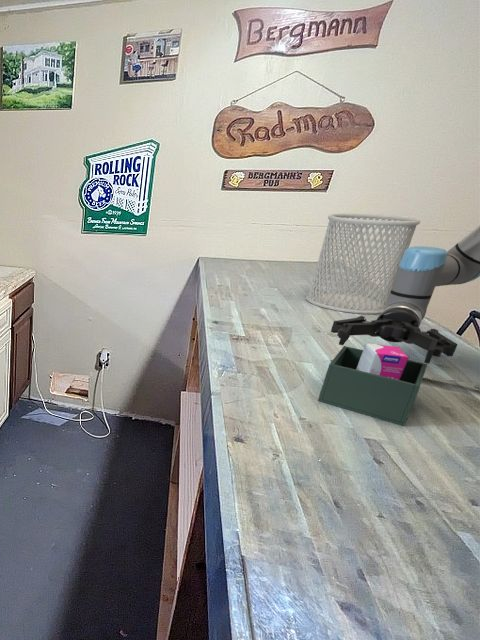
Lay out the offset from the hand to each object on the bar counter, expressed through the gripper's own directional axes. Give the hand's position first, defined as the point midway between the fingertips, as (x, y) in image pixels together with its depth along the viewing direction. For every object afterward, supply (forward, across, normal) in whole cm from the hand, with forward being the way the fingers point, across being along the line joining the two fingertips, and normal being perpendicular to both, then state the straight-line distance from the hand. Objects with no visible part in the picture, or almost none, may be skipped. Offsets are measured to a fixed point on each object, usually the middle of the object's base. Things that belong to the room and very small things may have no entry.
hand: (383, 347), depth 90 cm
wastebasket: (-87, +18, -13) cm, 90 cm away
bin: (-3, 0, -13) cm, 14 cm away
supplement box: (-3, 0, -13) cm, 13 cm away
